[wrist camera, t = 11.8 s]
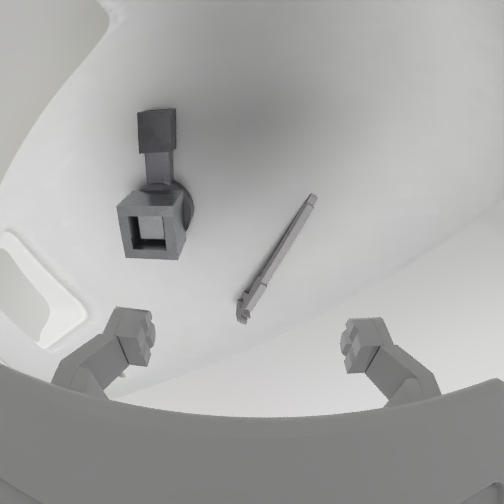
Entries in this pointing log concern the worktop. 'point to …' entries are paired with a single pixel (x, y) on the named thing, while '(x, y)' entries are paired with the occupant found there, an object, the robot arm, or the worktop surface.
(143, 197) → the grey metal block
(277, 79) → the worktop surface
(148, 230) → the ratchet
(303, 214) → the caliper
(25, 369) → the worktop surface
